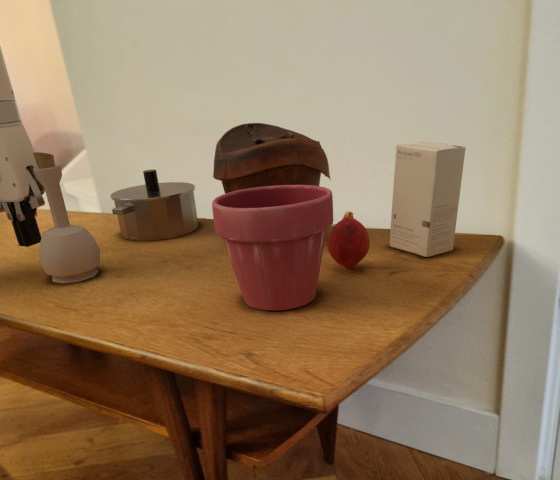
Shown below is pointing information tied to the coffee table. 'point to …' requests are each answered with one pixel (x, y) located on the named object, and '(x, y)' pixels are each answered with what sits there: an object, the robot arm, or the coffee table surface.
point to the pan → (157, 218)
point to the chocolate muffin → (267, 158)
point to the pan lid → (152, 190)
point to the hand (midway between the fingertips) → (31, 243)
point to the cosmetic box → (426, 197)
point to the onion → (348, 241)
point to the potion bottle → (63, 232)
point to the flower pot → (275, 241)
